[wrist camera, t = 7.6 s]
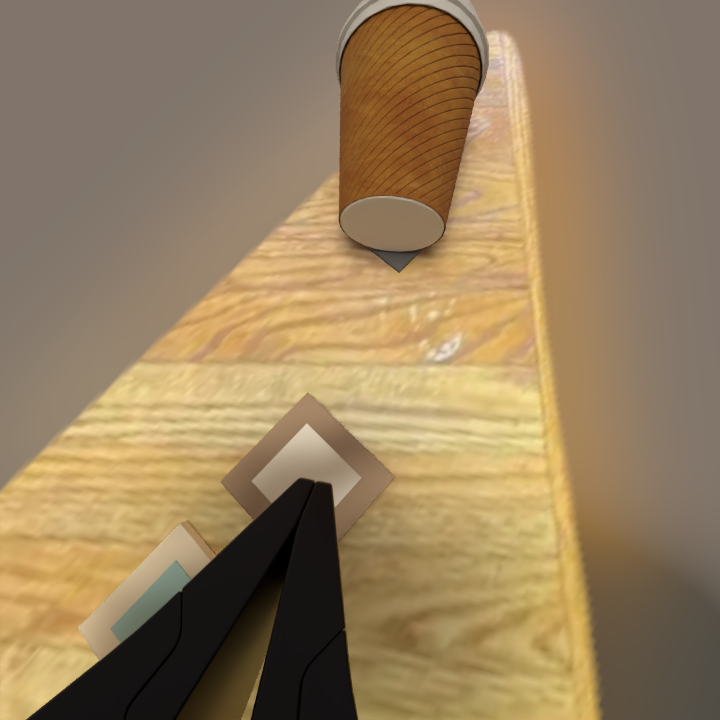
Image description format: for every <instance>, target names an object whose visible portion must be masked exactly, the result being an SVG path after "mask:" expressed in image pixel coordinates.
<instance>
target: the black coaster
mask: <svg viewBox="0 0 720 720" xmlns="http://www.w3.org/2000/svg"><path fill="white" fill-rule="evenodd" d="M366 247H367V248H368V249H370V250H371V251H372V252H374V253H375V254H376V255H377V256H379V257H380V258H381V259H382V260H384V261H385V262H386V263H388V264H389V265H390V266H391V267H393V268H394V269H395V270H396V271H398V272H400V271H401V270H402V269H403V268H404V267H405V266H406V265H407V264H408V263H409V262H410V261H411V260H412V259H413V258H414V257H415V256H416V255H417V254H418V253H419V252H420V251H421V250H422V249H423V248H422V249H418V250H414V251H403V252H395V251H385V250H379V249H374V248H371V247H368V246H366Z"/></svg>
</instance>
